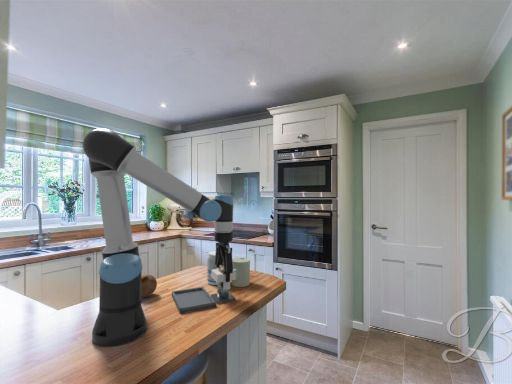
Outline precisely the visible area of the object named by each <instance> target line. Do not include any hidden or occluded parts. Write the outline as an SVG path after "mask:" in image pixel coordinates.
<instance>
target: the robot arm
mask: <svg viewBox="0 0 512 384" xmlns="http://www.w3.org/2000/svg"><path fill="white" fill-rule="evenodd" d="M82 149H83V152H84V154H85V156H86V157H87V159H88V165H89V171H90V174H91V175H92V176H93V177H94V178H95V179H96V183H97V184H96V185H97V190H98V197H99V198H98V199H99V204H100V212H101V219H102V220H101V221H102V226H103V227H102V228H103V233H104V234H103V235H104V241H105V246H104V248H103V249H102V251H101V254H102V255H101V256H102V261H100V262H101V263H100V265H99V270H98V275H99V303H98V304H99V306H98V307H99V311H98V314H97V317H96V319H95V322H94V326H93V328H92V332H91V339H92V340H91V341H92V343H93V344H95V345H98V346H103V347H114V346H120V345H124V344H128V343H130V342H133V341H134V340H137V339H139V338H140V337H142V336H143V335H144V334H145V333H146V331H147V326H148V324H147V323H148V321H147V317H146V315H145V312H144V309H143V306H142V297H141V276H142V271H143V263H142V259H141V257H140V250H139V244H138V243H136V242H135V241H134V240H133V232H132V225H131V217H130V211H129V203H128V196H127V195H128V194H127V189H126V182H125V175H128V176H129V177H132V178H133V179H134V180H136V181H138V182H139V183H142V184H143V185H145V186H146V187H148V188H150V189H152V190H153V191H154V192H157V193H158V194H159V195H162V196H163V197H164V198H167V199H168V200H170V201H172V203H175V204H176V205H178V206H180V207H181V208H183V209H184V211H185V212H184V213H185V217H186V218H187V219H200V220H202V221H204V222H206V223H213V222H214V231H215V232H214V241H215V242H216V243H215V251H216V255H215V265H216V267H217V269H221V268H220V264H223V265H224V273H223V290H228V289H229V290H231V281H230V273H233V264H232V259H233V247H230V242H232V241H233V240H234V239H233V238H234V232H233V230H234V227H233V226H234V197H233V196H232V194H215V196H214V199H212V198H211V199H210V198H209V197H208V196H206V195H204V194H202V193H201V192H200V191H198V190H196V189H195V188H194V187H192V186H190V185H189V184H187V183H186V182H184V181H183V180H181V179H179V178H178V177H177V176H175V175H173V173H170V172H169V171H167V170H165V169H164V168H162V167H161V166H159V165H158V164H157V163H155V162H153V161H152V160H150V159H148V158H147V157H146V156H144V155H142V154H141V153H139V152H138V151H137V147H136V146H134V145H133V144H131V143H130V142H128V141H127V140H126V139H124V138H123V137H121V136H120V135H119V134H118V133H117V132H115V131H114V130H112V129H108V128H103V127H102V128H96V129H93V130H91V131H89V132H88V133H87V134H86V135H85V137H84V138H83V142H82ZM216 283H217V282H216ZM218 283H220V282H218Z"/></svg>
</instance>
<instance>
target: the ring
mask: <svg viewBox="0 0 512 384" xmlns="http://www.w3.org/2000/svg"><path fill="white" fill-rule="evenodd" d="M220 270H221V269H213V270H211V277H212V278H213V279H214V280H215V281H216V282H217V283H218V282H223V273H221V272H220ZM236 277H237V270H236V269H233V273H230V282H231V281H232V280H236Z"/></svg>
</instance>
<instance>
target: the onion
mask: <svg viewBox="0 0 512 384" xmlns="http://www.w3.org/2000/svg"><path fill="white" fill-rule="evenodd" d="M157 285H158V281H157V278H156V277H155V276H154V275H152V274H143V275H142V274H141V298H148V297H150V296H151V295H152V294H154V292H155V291H156V289H157Z"/></svg>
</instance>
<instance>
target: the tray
mask: <svg viewBox="0 0 512 384" xmlns="http://www.w3.org/2000/svg"><path fill="white" fill-rule="evenodd" d="M171 298H172V299H173V301H174V304H175V306H176V308H177V310H178V312H179V314H184V313H190V312H195V311H200V310H205V309H211V308H215V307H217V303H216V302H215V300H214V299H213V298H212V297H211V294H210V293H209V292H208V291H207V290H206V288H205V287H204V286H199V287H193V288H187V289H186V288H185V289H179V290H172V291H171Z"/></svg>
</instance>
